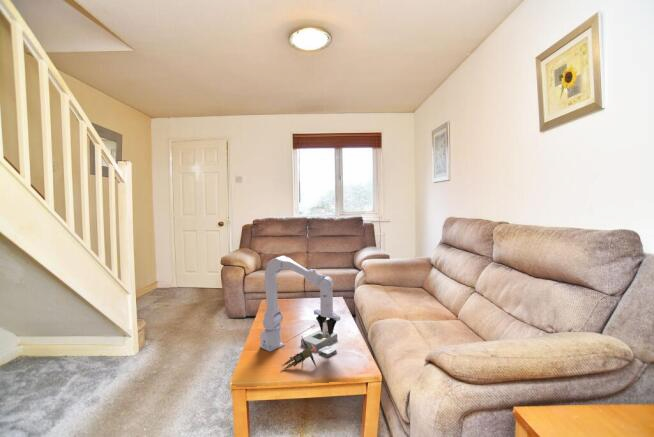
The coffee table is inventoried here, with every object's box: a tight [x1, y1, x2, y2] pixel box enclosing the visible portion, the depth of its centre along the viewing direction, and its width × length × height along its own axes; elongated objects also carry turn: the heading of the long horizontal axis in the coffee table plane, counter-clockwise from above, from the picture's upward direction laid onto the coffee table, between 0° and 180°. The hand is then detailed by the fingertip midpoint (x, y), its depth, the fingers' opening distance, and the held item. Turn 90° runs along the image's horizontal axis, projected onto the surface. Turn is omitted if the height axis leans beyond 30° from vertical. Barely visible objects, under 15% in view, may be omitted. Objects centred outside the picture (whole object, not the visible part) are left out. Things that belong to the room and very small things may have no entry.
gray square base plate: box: [317, 345, 338, 358], centre depth 139 cm, size 6×6×2 cm
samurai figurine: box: [276, 324, 318, 371], centre depth 129 cm, size 16×10×20 cm
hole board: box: [300, 329, 338, 352], centre depth 150 cm, size 16×10×3 cm, turn 139°
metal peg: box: [322, 319, 331, 338], centre depth 139 cm, size 4×4×7 cm
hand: (327, 332), depth 139 cm, fingers closed on metal peg, 4 cm apart
